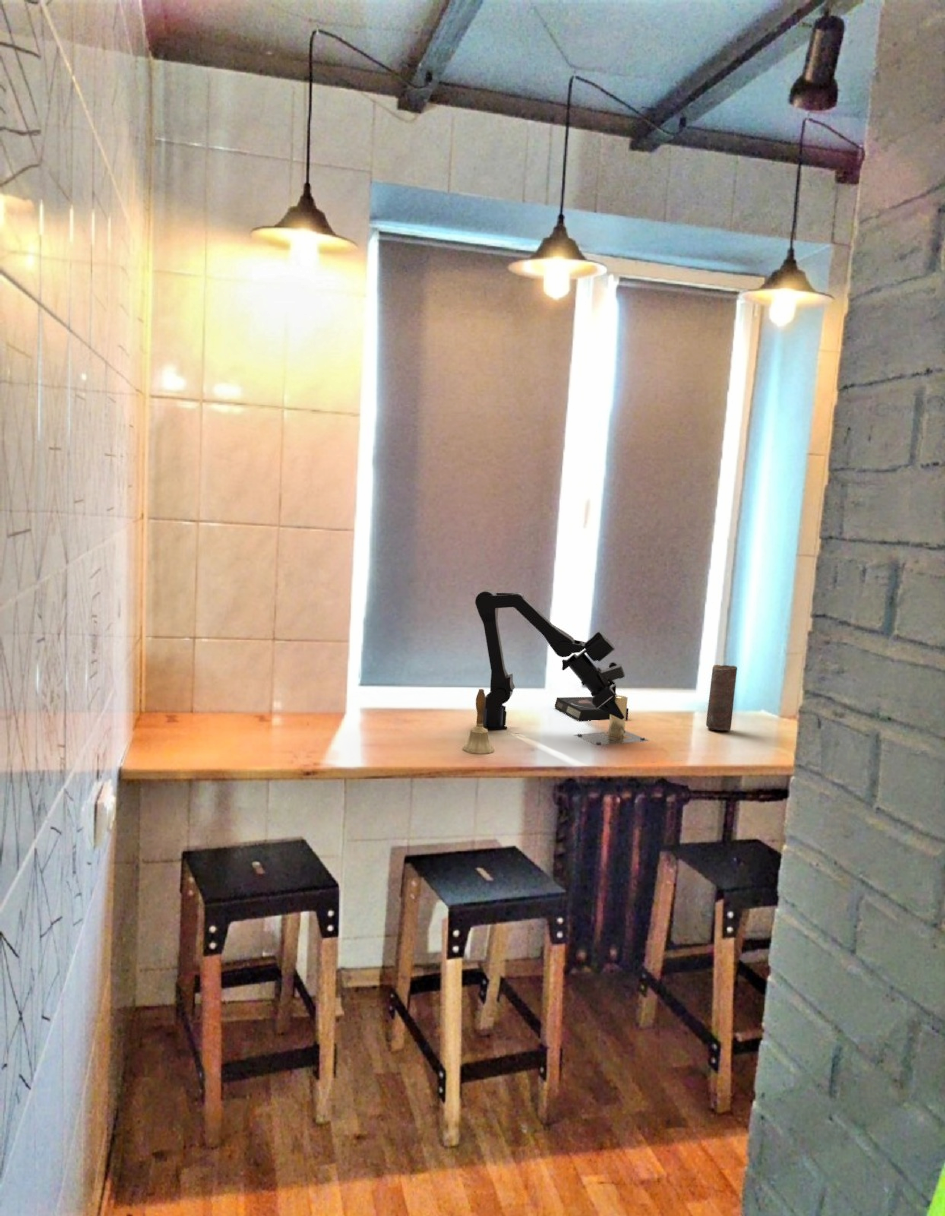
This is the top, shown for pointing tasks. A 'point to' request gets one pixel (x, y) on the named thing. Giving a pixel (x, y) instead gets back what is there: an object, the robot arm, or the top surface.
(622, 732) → the disc
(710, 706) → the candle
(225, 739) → the top surface
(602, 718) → the portable cd player
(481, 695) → the hand bell
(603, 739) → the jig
